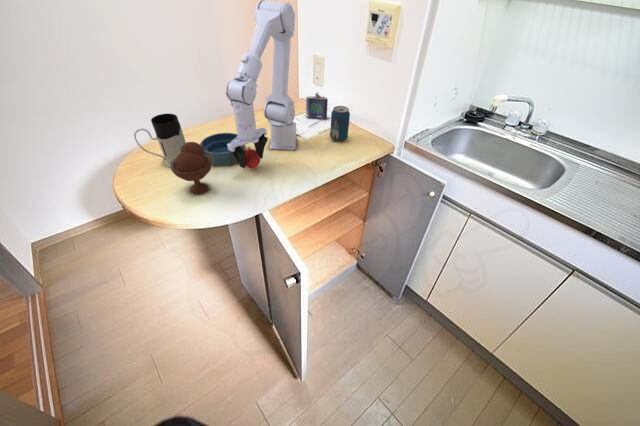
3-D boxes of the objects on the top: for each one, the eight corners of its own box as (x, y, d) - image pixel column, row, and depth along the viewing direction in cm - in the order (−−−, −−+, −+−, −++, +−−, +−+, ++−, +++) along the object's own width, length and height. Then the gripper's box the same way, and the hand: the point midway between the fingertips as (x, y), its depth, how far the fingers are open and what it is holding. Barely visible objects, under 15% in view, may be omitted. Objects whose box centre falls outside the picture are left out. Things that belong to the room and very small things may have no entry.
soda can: (346, 134, 118) (349, 105, 110) (348, 143, 113) (351, 113, 105) (329, 134, 118) (331, 105, 110) (330, 142, 112) (332, 112, 104)
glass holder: (196, 161, 100) (183, 119, 90) (153, 176, 93) (134, 132, 83) (186, 151, 104) (173, 110, 94) (144, 164, 97) (125, 122, 87)
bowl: (250, 145, 109) (248, 133, 106) (242, 167, 98) (239, 154, 95) (210, 144, 109) (207, 132, 105) (197, 166, 98) (193, 153, 94)
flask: (305, 118, 128) (305, 93, 121) (306, 115, 131) (306, 91, 124) (326, 119, 128) (327, 95, 121) (327, 117, 130) (328, 92, 123)
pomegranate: (263, 164, 100) (260, 143, 94) (258, 174, 95) (255, 152, 90) (246, 163, 100) (243, 142, 95) (241, 172, 96) (237, 151, 90)
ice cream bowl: (184, 179, 92) (170, 135, 82) (220, 178, 93) (210, 135, 83) (175, 200, 84) (157, 155, 74) (214, 199, 85) (202, 154, 75)
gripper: (236, 135, 81) (243, 176, 90) (272, 118, 89) (275, 157, 98) (219, 127, 84) (227, 168, 93) (256, 112, 92) (260, 150, 101)
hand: (251, 162), depth 96 cm, fingers open, 7 cm apart
